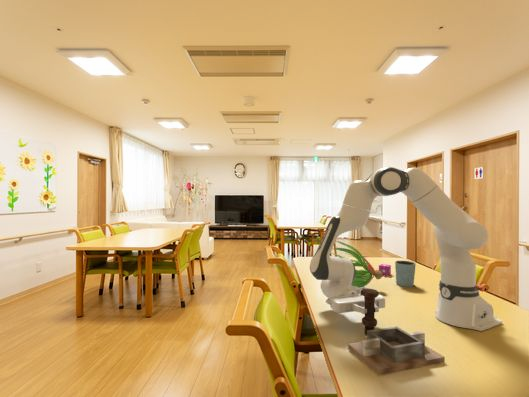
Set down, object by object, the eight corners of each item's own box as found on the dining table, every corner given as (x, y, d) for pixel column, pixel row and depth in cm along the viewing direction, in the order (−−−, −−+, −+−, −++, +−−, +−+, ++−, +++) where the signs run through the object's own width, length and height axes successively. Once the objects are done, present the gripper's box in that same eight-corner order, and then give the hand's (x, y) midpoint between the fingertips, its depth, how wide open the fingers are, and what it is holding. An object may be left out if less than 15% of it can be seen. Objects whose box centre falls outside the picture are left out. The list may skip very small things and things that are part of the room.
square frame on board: (407, 339, 96) (407, 322, 96) (444, 362, 82) (444, 342, 82) (348, 348, 89) (348, 330, 89) (378, 375, 76) (378, 354, 76)
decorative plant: (385, 306, 140) (321, 299, 146) (376, 281, 164) (321, 276, 170) (390, 255, 135) (323, 250, 140) (380, 237, 159) (323, 233, 165)
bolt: (365, 329, 102) (365, 287, 102) (379, 334, 99) (380, 290, 99) (358, 335, 98) (359, 291, 98) (373, 340, 95) (374, 294, 95)
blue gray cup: (405, 281, 164) (405, 260, 164) (420, 286, 154) (420, 263, 155) (390, 282, 161) (390, 261, 161) (404, 288, 151) (405, 265, 151)
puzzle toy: (381, 273, 183) (381, 263, 183) (390, 274, 180) (390, 265, 180) (378, 274, 178) (378, 265, 178) (388, 276, 175) (388, 266, 175)
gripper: (323, 291, 108) (344, 304, 95) (370, 286, 114) (396, 298, 101) (323, 308, 108) (343, 323, 95) (370, 303, 114) (396, 316, 101)
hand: (371, 310), depth 98 cm, fingers closed on bolt, 3 cm apart
